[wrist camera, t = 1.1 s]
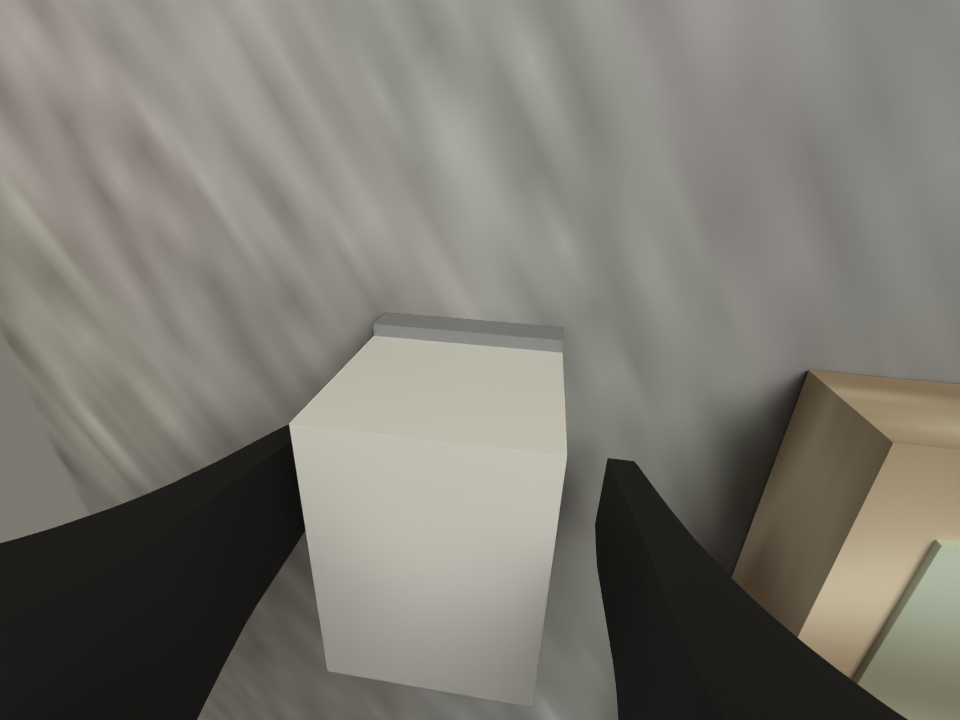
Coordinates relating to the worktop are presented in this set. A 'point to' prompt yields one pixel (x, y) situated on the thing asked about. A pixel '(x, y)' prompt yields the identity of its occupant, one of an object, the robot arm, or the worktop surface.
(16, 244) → the worktop surface
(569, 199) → the worktop surface
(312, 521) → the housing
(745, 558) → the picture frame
